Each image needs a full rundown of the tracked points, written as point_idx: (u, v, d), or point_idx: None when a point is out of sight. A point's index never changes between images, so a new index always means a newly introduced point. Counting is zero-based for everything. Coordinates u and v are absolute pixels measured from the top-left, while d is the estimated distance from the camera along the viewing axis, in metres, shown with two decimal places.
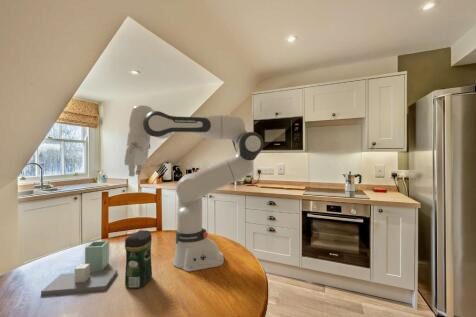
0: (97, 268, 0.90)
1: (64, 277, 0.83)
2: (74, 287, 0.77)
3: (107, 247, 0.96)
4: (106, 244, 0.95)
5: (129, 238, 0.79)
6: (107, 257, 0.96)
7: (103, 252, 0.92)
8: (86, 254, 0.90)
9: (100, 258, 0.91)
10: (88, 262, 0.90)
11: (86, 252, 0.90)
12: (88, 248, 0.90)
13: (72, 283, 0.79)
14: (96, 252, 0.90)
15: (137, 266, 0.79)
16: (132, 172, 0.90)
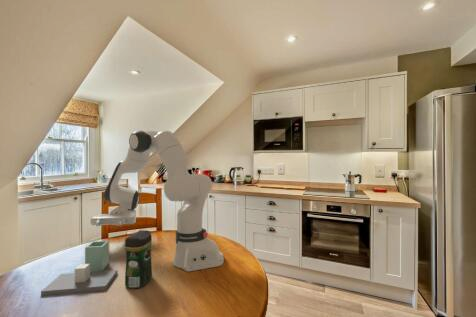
0: (97, 268, 0.90)
1: (64, 277, 0.83)
2: (74, 287, 0.77)
3: (107, 247, 0.96)
4: (106, 244, 0.95)
5: (129, 238, 0.79)
6: (107, 257, 0.96)
7: (103, 252, 0.92)
8: (86, 254, 0.90)
9: (100, 258, 0.91)
10: (88, 262, 0.90)
11: (86, 252, 0.90)
12: (88, 248, 0.90)
13: (72, 283, 0.79)
14: (96, 252, 0.90)
15: (137, 266, 0.79)
16: None
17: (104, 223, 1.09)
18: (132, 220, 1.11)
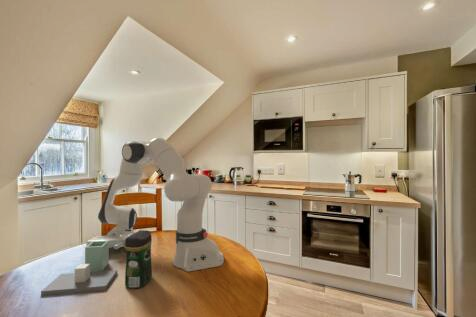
0: (97, 268, 0.90)
1: (64, 277, 0.83)
2: (74, 287, 0.77)
3: (107, 247, 0.96)
4: (106, 244, 0.95)
5: (129, 238, 0.79)
6: (107, 257, 0.96)
7: (103, 252, 0.92)
8: (86, 254, 0.90)
9: (100, 258, 0.91)
10: (88, 262, 0.90)
11: (86, 252, 0.90)
12: (88, 248, 0.90)
13: (72, 283, 0.79)
14: (96, 252, 0.90)
15: (137, 266, 0.79)
16: None
17: None
18: None
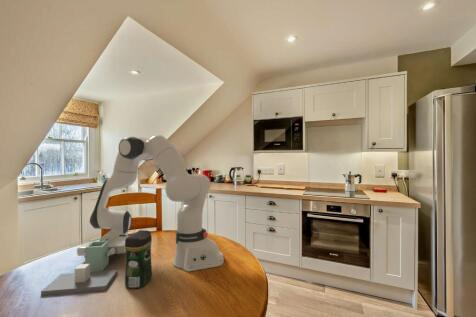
0: (97, 268, 0.90)
1: (64, 277, 0.83)
2: (74, 287, 0.77)
3: (107, 247, 0.96)
4: (106, 244, 0.95)
5: (129, 238, 0.79)
6: (107, 257, 0.96)
7: (103, 252, 0.92)
8: (86, 254, 0.90)
9: (100, 258, 0.91)
10: (88, 262, 0.90)
11: (86, 252, 0.90)
12: (88, 248, 0.90)
13: (72, 283, 0.79)
14: (96, 252, 0.90)
15: (137, 266, 0.79)
16: None
17: None
18: (124, 249, 0.99)
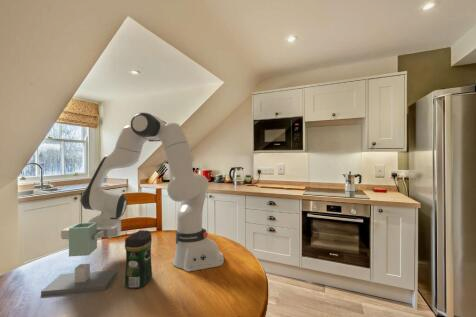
0: (83, 252, 0.79)
1: (64, 277, 0.83)
2: (74, 287, 0.77)
3: (95, 229, 0.85)
4: (94, 226, 0.84)
5: (129, 238, 0.79)
6: (95, 240, 0.84)
7: (90, 234, 0.81)
8: (70, 236, 0.79)
9: (86, 240, 0.79)
10: (72, 245, 0.79)
11: (70, 234, 0.79)
12: (72, 229, 0.79)
13: (72, 283, 0.79)
14: (82, 234, 0.79)
15: (137, 266, 0.79)
16: None
17: None
18: (114, 232, 0.88)
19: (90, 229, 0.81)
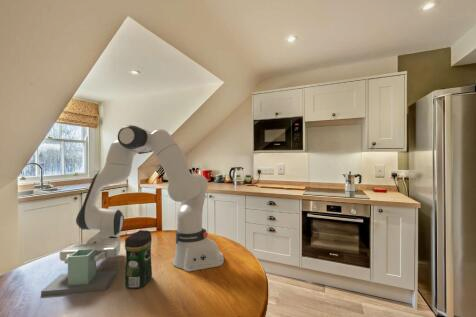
0: (82, 281, 0.79)
1: (64, 277, 0.83)
2: (74, 287, 0.77)
3: None
4: (93, 253, 0.83)
5: (129, 238, 0.79)
6: (94, 267, 0.84)
7: (89, 262, 0.80)
8: (69, 265, 0.78)
9: (85, 269, 0.79)
10: (71, 274, 0.78)
11: (70, 262, 0.78)
12: (71, 258, 0.78)
13: None
14: (81, 262, 0.79)
15: (137, 266, 0.79)
16: None
17: None
18: (114, 253, 0.87)
19: (89, 257, 0.80)
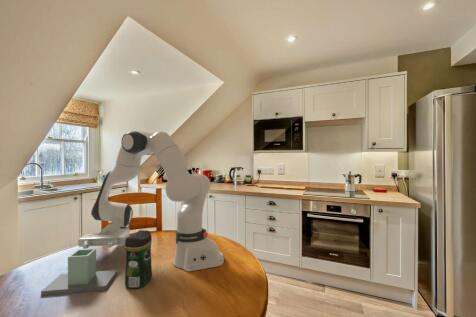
0: (82, 281, 0.79)
1: (64, 277, 0.83)
2: (74, 287, 0.77)
3: (94, 256, 0.84)
4: (93, 253, 0.83)
5: (129, 238, 0.79)
6: (94, 267, 0.84)
7: (89, 262, 0.80)
8: (69, 265, 0.78)
9: (85, 269, 0.79)
10: (71, 274, 0.78)
11: (70, 262, 0.78)
12: (71, 258, 0.78)
13: None
14: (81, 262, 0.79)
15: (137, 266, 0.79)
16: None
17: (93, 244, 0.98)
18: (124, 240, 1.00)
19: (89, 257, 0.80)
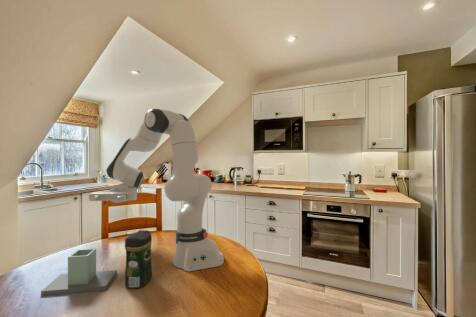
0: (82, 281, 0.79)
1: (64, 277, 0.83)
2: (74, 287, 0.77)
3: (94, 256, 0.84)
4: (93, 253, 0.83)
5: (129, 238, 0.79)
6: (94, 267, 0.84)
7: (89, 262, 0.80)
8: (69, 265, 0.78)
9: (85, 269, 0.79)
10: (71, 274, 0.78)
11: (70, 262, 0.78)
12: (71, 258, 0.78)
13: None
14: (81, 262, 0.79)
15: (137, 266, 0.79)
16: None
17: (103, 199, 1.03)
18: (133, 196, 1.05)
19: (89, 257, 0.80)
